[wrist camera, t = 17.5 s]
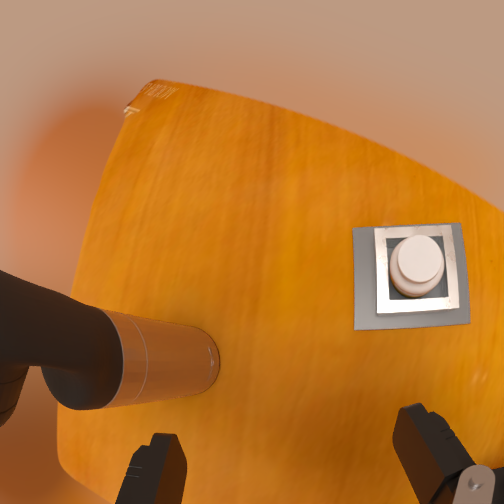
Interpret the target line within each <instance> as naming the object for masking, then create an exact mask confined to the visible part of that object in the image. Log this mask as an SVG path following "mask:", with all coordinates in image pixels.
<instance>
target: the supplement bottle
mask: <svg viewBox="0 0 504 504" xmlns="http://www.w3.org/2000/svg"><path fill="white" fill-rule="evenodd" d="M443 271H444V258H443V254H442V252H441V250H440V248H439V246H438V245H437V243H436V242H435V241H434V240H433V239H431V238H430V237H428V236H424V235H415V236H411V237H408V238H406V239H404V240H402V241H401V242H400V243H399V244H398V245H397V246H396V247H395V249H394V251H393V252H392V255H391V259H390V278H391V282H392V285H393V287H394V288H395V290H396V291H397V292H398V293H399V294H400V295H402V296H404V297H406V298H411V299H415V298H420V297H422V296H424V295H426V294H427V293H429V292H430V291H431V290H432V289H433V288H434V287H435V286H436V285H437V284H438V283H439V281H440V279H441V277H442V275H443Z"/></svg>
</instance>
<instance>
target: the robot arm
mask: <svg viewBox="0 0 504 504" xmlns="http://www.w3.org/2000/svg"><path fill="white" fill-rule="evenodd" d="M219 364H220V363H219V354H218V350H217V347H216V345H215V343H214V342H213V340H212V339H211V337H210V336H209V335H208V334H206V333H205V332H204V331H202V330H200V329H198V328H195V327H190V326H184V325H179V324H174V323H168V322H163V321H157V320H152V319H147V318H142V317H137V316H132V315H128V314H123V313H118V312H113V311H109V310H104V309H100V308H96V307H93V306H89V305H85V304H83V303H80V302H78V301H76V300H74V299H72V298H70V297H68V296H66V295H63V294H61V293H58V292H56V291H53V290H50V289H47V288H44V287H41V286H38V285H35V284H33V283H30V282H27V281H25V280H22V279H20V278H17V277H15V276H13V275H10V274H8V273H6V272H3V271H1V270H0V427H1V426H2V425H4V424H5V422H6V421H7V420H8V419H9V418H10V416H11V415H12V414H13V412H14V410H15V407H16V405H17V402H18V399H19V396H20V392H21V390H22V386H23V383H24V381H25V378H26V375H27V372H28V369H29V366H41V369H42V373H43V376H44V379H45V382H46V384H47V386H48V388H49V390H50V391H51V393H52V394H53V396H54V397H55V398H56V399H57V400H58V401H59V402H60V403H61V404H62V405H64V406H66V407H68V408H70V409H74V410H92V409H101V408H110V407H119V406H126V405H134V404H141V403H148V402H155V401H161V400H167V399H173V398H179V397H185V396H190V395H195V394H198V393H202V392H204V391H205V390H207V389H208V388H209V387H210V386H211V385H212V384H213V382H214V381H215V379H216V377H217V374H218V371H219ZM393 446H394V449H395V451H396V453H397V455H398V457H399V459H400V461H401V463H402V466H403V468H404V470H405V472H406V474H407V476H408V478H409V481H410V483H411V485H412V487H413V489H414V492H415V494H416V496H417V498H418V500H419V503H420V504H504V467H502V468H498V469H493V470H491V469H490V468H489V467H487V466H484V465H476V464H475V463H474V461H473V460H472V458H471V457H470V455H469V454H468V453H467V451H466V450H465V448H464V447H463V445H462V444H461V442H460V441H459V439H458V438H457V436H455V433H454V432H453V431H452V429H450V426H449V425H448V423H447V422H446V421H445V419H444V418H443V417H441V416H440V415H438V414H437V413H435V412H434V411H433V412H430V413H428V412H427V411H426V409H425V408H424V406H423V405H422V404H421V403H416V404H413V405H409V406H406V407H402V408H400V410H399V413H398V417H397V421H396V424H395V428H394V432H393ZM186 475H187V461H186V457H185V455H184V452H183V450H182V447H181V445H180V442H179V440H178V437H177V435H176V434H166V433H154V435H153V437H152V439H151V442H150V445H149V446H145V445H142V446H141V447H140V448H139V449H138V450H137V451H136V452H135V453H134V454H133V456H132V458H131V461H130V464H129V467H128V469H127V472H126V476H125V477H124V480H123V483H122V486H121V488H120V491H119V494H118V497H117V500H116V502H115V504H181V502H182V496H183V491H184V486H185V480H186Z"/></svg>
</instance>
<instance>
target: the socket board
mask: <svg viewBox="0 0 504 504" xmlns="http://www.w3.org/2000/svg"><path fill="white" fill-rule="evenodd" d="M415 235H424V236H428V237H430V238H431V239H433V240H434V241H435V242H436V243H437V245H438V246H439V248H440V250H441V252H442V254H443V258H444V271H443V275H442V277H441V279H440V281H439V283H438V284H437V285H436V286H435V287H434V288H433V289H432V290H431V291H430V292H429V293H427V294H426V295H424V296H422V297H420V298H415V299H411V298H406V297H404V296H402V295H400V294H399V293H398V292H397V291H396V290H395V288H394V287H393V285H392V282H391V278H390V259H391V255H392V252H393V251H394V249H395V247H396V246H397V245H398V244H399V243H400V242H401V241H402V240H404V239H406V238H408V237H411V236H415ZM353 246H354V284H355V313H354V330H378V329H402V328H420V327H434V326H447V325H458V324H469V323H470V303H469V287H468V275H467V265H466V257H465V249H464V242H463V235H462V229H461V223H443V224H420V225H399V226H379V227H361V228H353Z"/></svg>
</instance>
